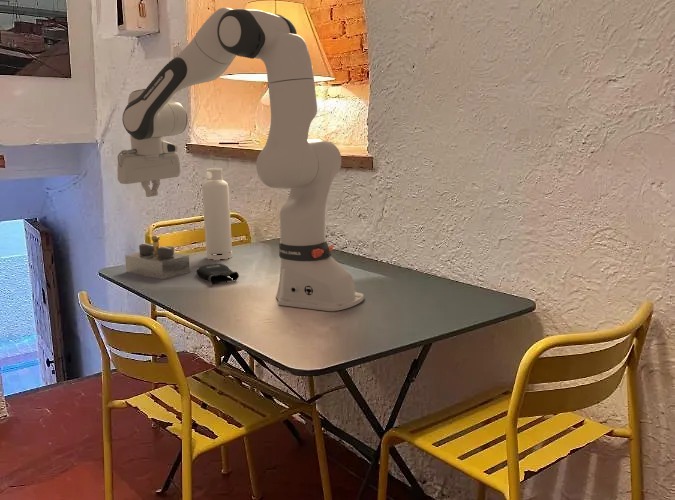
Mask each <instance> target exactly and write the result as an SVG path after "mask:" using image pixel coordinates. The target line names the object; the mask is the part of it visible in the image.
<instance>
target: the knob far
mask: <svg viewBox="0 0 675 500" xmlns="http://www.w3.org/2000/svg"><path fill="white" fill-rule="evenodd" d="M138 249H139V252H140V255H152V254H154V247H153V242H152V243H146V242H143V243H141V244H139V245H138Z"/></svg>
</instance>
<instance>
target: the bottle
mask: <svg viewBox="0 0 675 500" xmlns="http://www.w3.org/2000/svg"><path fill="white" fill-rule="evenodd" d="M201 188H202V189H201V191H202V206H203V223H204V237H205V238H204V239H205V240H204V241H205V251H206V253H205V257H206V259H207V258H208V259H207V260H209V259H216V260H215V261H221V260H220V259H225V260H229V259H228V258H230V259H232V258H233V244H232V241H233V240H232V229H231V228H232V227H231V223H232V222H231V208H230V206H231V205H230V187H229V183H228V182H227V181H225V180H224V178H223V167H222V168H221V167H211V168H210V167H209V168H206V181H204V182H203V183H202V186H201ZM213 254H222V255H213ZM231 257H232V258H231Z"/></svg>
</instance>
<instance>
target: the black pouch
mask: <svg viewBox="0 0 675 500" xmlns="http://www.w3.org/2000/svg"><path fill="white" fill-rule="evenodd" d="M196 273H197V275H198V277H199V278H200V279H202V280H204V281H206V282H208V283H210V285H211V284H212V283H213V282H212V276H215V277H219V276H224V277H226V276H230V277H231V278H233V280H235V281H234V282H236V281H237V280H238V279H239V277H240V275H239V273H238V271H233V270H231V269H230V267H229V266H228V265H226V264H223V263H211V264H205V265H201V266H199V267H198V268H197V269H196ZM218 275H219V276H218ZM226 283H228V282H227V281H226ZM212 285H213V284H212Z"/></svg>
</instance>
